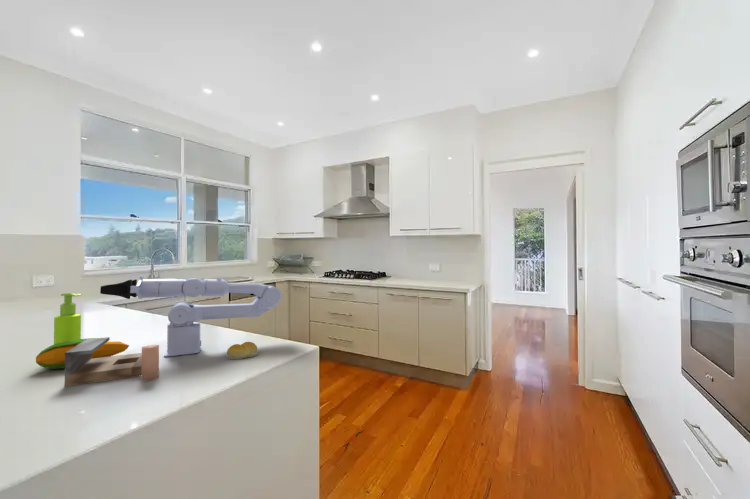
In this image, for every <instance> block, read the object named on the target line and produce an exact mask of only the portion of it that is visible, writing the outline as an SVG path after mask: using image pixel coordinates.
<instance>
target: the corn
mask: <svg viewBox="0 0 750 499" xmlns="http://www.w3.org/2000/svg"><path fill="white" fill-rule="evenodd" d="M95 338H96V337H91V338H88V337H87V338H81V339H79V340H72V341H66V342H61V343H57V344H54V343H53V344H52V345H50V346H47V347H46V348H44V349H43V350H41V351H40V352H39V353H38V354H37V355H36V356H35V364H37V365H38V366H39V367H40V368H45V369H48V370H52V369H53V370H60V369H65V353H66V352H67V351H69V350H70V349H72V348H74V347H75V346H77V345H78V344H80V343H82V342H83V341H85V340H87V339H95ZM129 347H130V345H129V344H127V343H124V342H122V341H107V342H106V343H105V344H103V345H102V346H101V347H99V348H98V349H97V350H95V351H94V352H93V353H91V359H92V358H100V357H109V356H117V354H120V353H123V352H125V351H126V350H127V349H128V348H129Z"/></svg>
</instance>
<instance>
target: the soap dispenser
mask: <svg viewBox="0 0 750 499" xmlns="http://www.w3.org/2000/svg"><path fill="white" fill-rule="evenodd" d="M60 296H63V299H64V300H63V303H62V304H60V305H59V306H60V308H59V309H60V310H59V315H55V316H54V319H53V320H54V321H53V345H54V344H57V343H61V342H66V341H72V340H79V339H82V338H81V336H82V334H81V332H82V328H81V327H82V314H80V313H76V303H74V302H73V297H81V296H82V293H78V292H67V293H66V292H65V293H61V294H60Z"/></svg>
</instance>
